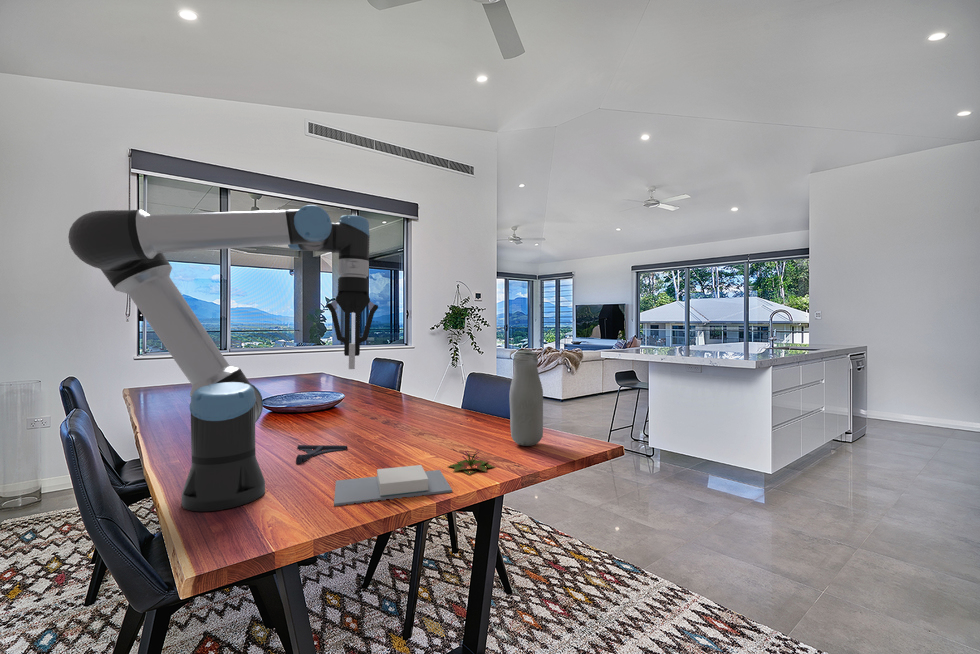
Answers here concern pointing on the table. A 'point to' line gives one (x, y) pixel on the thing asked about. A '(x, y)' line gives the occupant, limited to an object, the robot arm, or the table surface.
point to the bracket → (317, 451)
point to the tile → (402, 480)
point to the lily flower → (471, 464)
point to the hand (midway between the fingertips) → (351, 368)
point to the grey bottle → (526, 400)
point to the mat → (369, 489)
